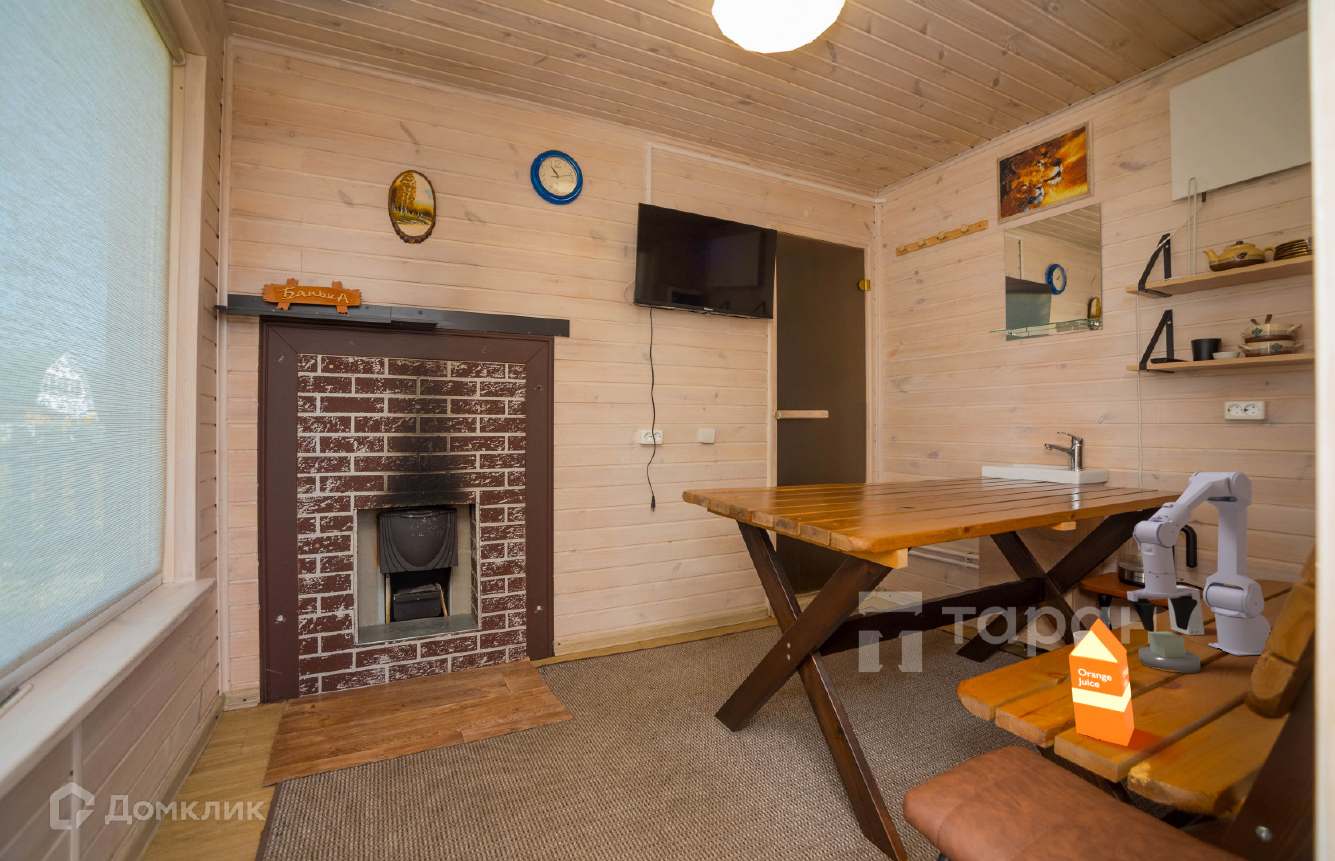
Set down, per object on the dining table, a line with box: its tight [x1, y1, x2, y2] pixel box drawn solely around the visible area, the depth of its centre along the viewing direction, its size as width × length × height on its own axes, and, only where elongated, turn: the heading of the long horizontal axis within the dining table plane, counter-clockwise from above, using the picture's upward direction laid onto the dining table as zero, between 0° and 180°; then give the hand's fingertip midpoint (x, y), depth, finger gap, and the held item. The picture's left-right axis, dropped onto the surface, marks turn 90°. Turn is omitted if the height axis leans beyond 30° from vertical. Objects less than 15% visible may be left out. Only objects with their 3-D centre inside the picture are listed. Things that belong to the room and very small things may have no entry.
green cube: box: [1148, 630, 1186, 658], centre depth 137 cm, size 4×4×4 cm
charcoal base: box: [1138, 645, 1202, 674], centre depth 137 cm, size 11×11×2 cm
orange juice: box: [1068, 617, 1135, 747], centre depth 109 cm, size 8×9×20 cm
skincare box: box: [1167, 585, 1205, 636], centre depth 158 cm, size 6×4×12 cm
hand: (1165, 629), depth 137 cm, fingers open, 7 cm apart
